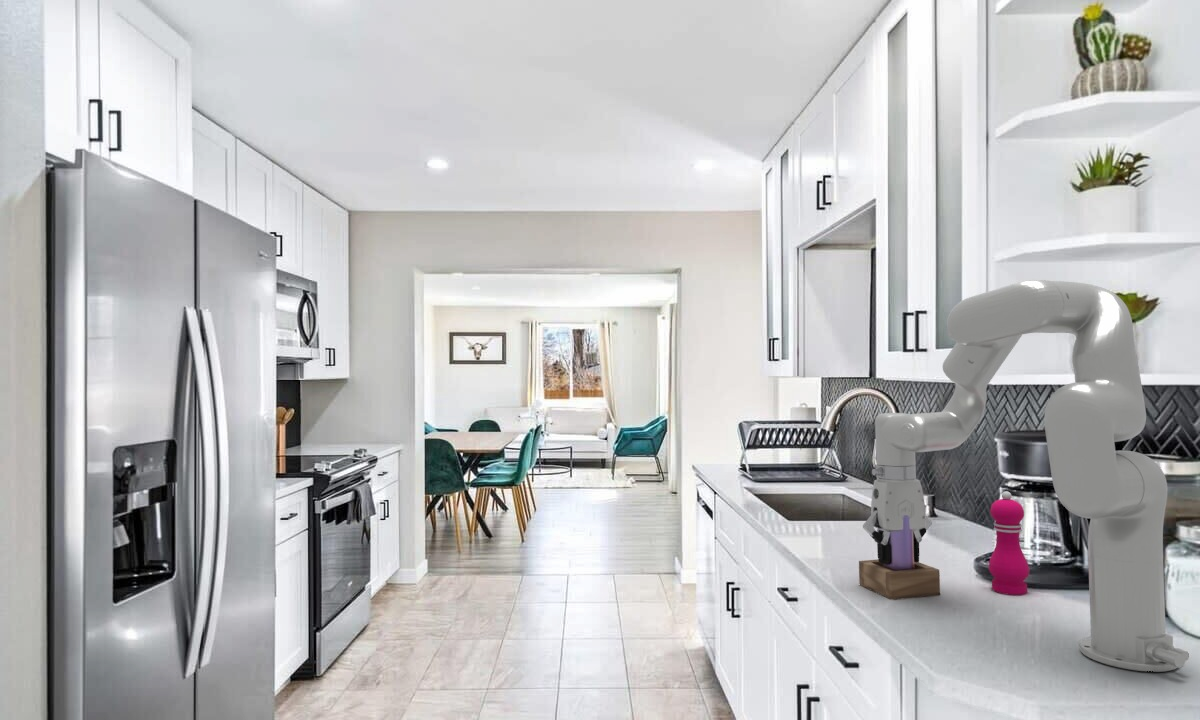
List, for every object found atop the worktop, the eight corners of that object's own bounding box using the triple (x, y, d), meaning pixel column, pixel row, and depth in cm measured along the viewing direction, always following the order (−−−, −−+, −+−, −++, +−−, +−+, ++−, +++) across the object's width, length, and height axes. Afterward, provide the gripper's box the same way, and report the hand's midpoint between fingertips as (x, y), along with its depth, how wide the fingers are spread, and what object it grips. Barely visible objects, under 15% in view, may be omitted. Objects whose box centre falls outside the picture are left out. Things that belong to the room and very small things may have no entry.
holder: (940, 594, 150) (939, 569, 151) (891, 599, 148) (890, 573, 148) (905, 580, 161) (904, 557, 161) (859, 584, 159) (858, 561, 159)
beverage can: (906, 589, 150) (903, 513, 151) (878, 583, 155) (875, 509, 155) (920, 583, 154) (918, 509, 155) (892, 578, 159) (890, 506, 159)
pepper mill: (1035, 596, 148) (1032, 494, 149) (995, 595, 150) (992, 493, 150) (1022, 586, 155) (1019, 489, 156) (984, 585, 157) (981, 488, 157)
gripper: (869, 477, 149) (872, 569, 149) (944, 473, 153) (947, 563, 153) (848, 473, 157) (850, 561, 156) (920, 469, 161) (923, 555, 160)
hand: (898, 561), depth 154 cm, fingers closed on beverage can, 5 cm apart
